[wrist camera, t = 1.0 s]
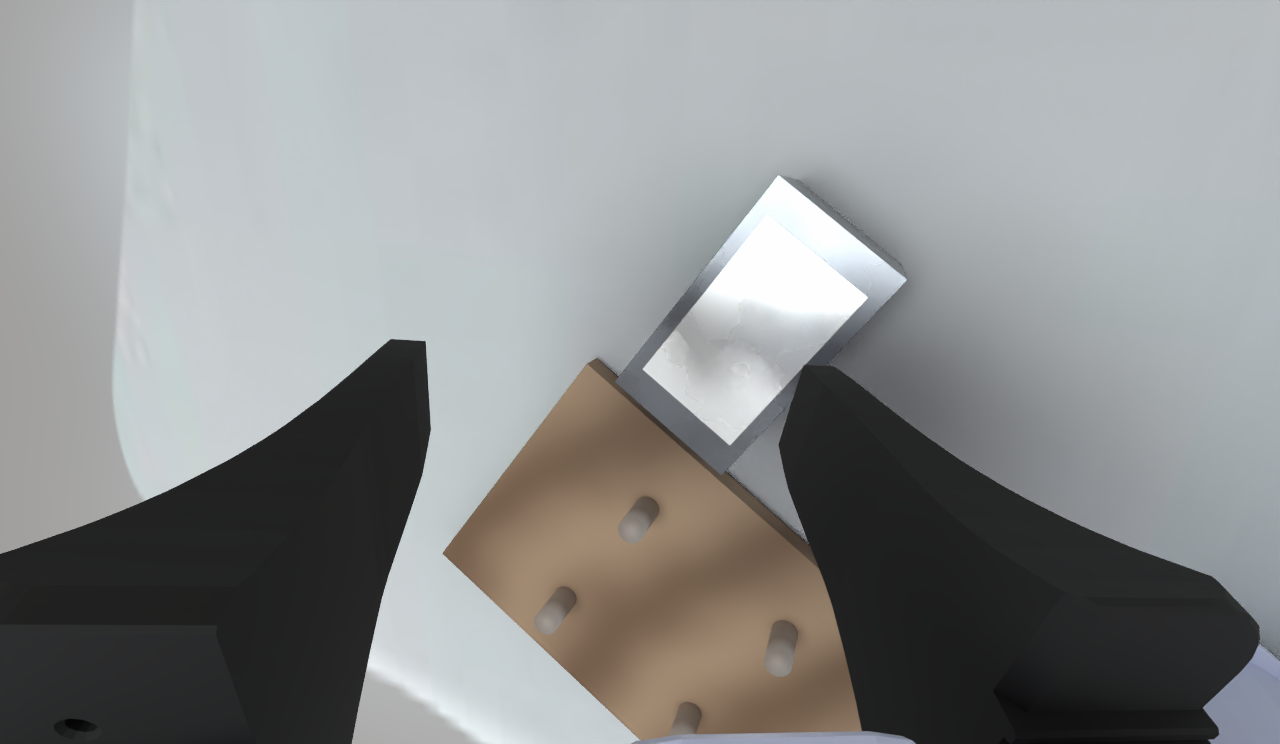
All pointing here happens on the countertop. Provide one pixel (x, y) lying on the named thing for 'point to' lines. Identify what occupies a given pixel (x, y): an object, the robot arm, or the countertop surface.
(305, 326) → the countertop surface
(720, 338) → the block
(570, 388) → the pin tray
